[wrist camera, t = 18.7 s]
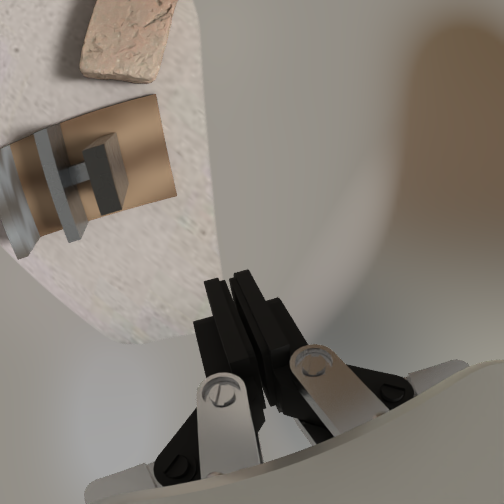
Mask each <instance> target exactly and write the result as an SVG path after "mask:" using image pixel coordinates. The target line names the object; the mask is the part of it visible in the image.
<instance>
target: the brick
mask: <svg viewBox="0 0 504 504" xmlns="http://www.w3.org/2000/svg"><path fill="white" fill-rule="evenodd" d="M177 1H178V0H97V1H96V4H95V6H94V10H93V13H92V16H91V19H90V22H89V25H88V28H87V33H86V36H85V40H84V44H83V47H82V51H81V59H80V63H79V64H80V68H79V69H80V70H81V72H82V74H83V75H84V77H87V78H97V79H115V80H116V79H117V80H123V81H129V82H132V83H144V84H148V83H152V82H153V81H154V80H155V79H156V76H157V75H158V72H159V68H160V64H161V61H162V57H163V53H164V49H165V47H166V43H167V39H168V34H169V29H170V26H171V20H172V16H173V13H174V9H175V6H176V3H177Z"/></svg>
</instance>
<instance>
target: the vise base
mask: <svg viewBox="0 0 504 504" xmlns="http://www.w3.org/2000/svg"><path fill="white" fill-rule="evenodd" d="M60 126H61V130H62V134H63V138H64V142H65V146H66V150H67V154H68V158H69V161H70V165H74V164H77V163H80V162H82V161H84V157H83V153H82V151H83V150H84V149H85V148H86V147H88V146H89V145H90V144H91V143H93V142H94V141H95V140H96V139H98V138H99V137H102V136H106V135H109V134H112V133H115V132H116V133H117V138H118V142H119V146H120V150H121V155H122V159H123V163H124V167H125V170H126V174H127V178H128V182H129V185H128V189H127V193H126V196H125V200H124V204H123V208H122V210H120V211H123V210H127V209H130V208H134V207H138V206H141V205H145V204H148V203H152V202H156V201H160V200H163V199H167V198H171V197H175V196H177V193H176V189H175V184H174V180H173V176H172V171H171V167H170V162H169V157H168V153H167V148H166V143H165V138H164V133H163V128H162V123H161V118H160V113H159V108H158V103H157V97H156V94H153V95H149V96H145V97H141V98H138V99H134V100H130V101H127V102H123V103H120V104H116V105H113V106H109V107H106V108H103V109H100V110H97V111H94V112H91V113H88V114H85V115H82V116H79V117H76V118H73V119H70V120H68V121H65V122H62V123H60ZM76 185H77V189H78V192H79V195H80V198H81V201H82V204H83V207H84V210H85V213H86V216H87V219H88V221H90V220H93V219H96V218H100V217H103V216H106V215H110V214H113V213H117V212H120V211H116V212H113V213H110V214H106V215H103V216H101V214H100V211H99V208H98V205H97V202H96V199H95V195H94V192H93V189H92V186H91V182H90V180H87V181H84V182H81V183H78V184H76ZM0 219H1V221H2V224H3V226H4V229H5V231H6V234H7V236H8V238H9V241H10V243H11V245H12V248H13V250H14V252H15V254H16V256H17V259H18V260H19V259H21V258H24V257H27V256H28V255H29V254H30V252H31V251H32V249H33V247H34V246H35V244H36V243H37V241H38V240H39V238H40V237H41V236H44V235H47V234H50V233H53V232H56V231H59V230H62V229H63V227H62V224H61V222H60V219H59V216H58V213H57V211H56V208H55V205H54V202H53V199H52V196H51V193H50V190H49V187H48V184H47V181H46V177H45V174H44V171H43V167H42V164H41V160H40V157H39V153H38V149H37V146H36V142H35V138H34V134H32V135H30V136H28V137H26V138H23V139H21V140H19V141H17V142H14V143H12V144H10V145H8V146H6V147H4V148H1V149H0Z"/></svg>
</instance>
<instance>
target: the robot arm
mask: <svg viewBox="0 0 504 504" xmlns="http://www.w3.org/2000/svg"><path fill="white" fill-rule="evenodd" d="M229 281H230V286H231V291H232V296H233V299H232V296H231V294H230V292H229V289H228V286H227V284H226V281H225V280H222V281H219V279H218V278H214V279H211V280H207V281H204V285H205V289H206V292H207V296H208V300H209V303H210V307H211V311H212V314H213V316H212V317H208V318H204V319H201V320H197V321H193V324H194V329H195V333H196V337H197V342H198V346H199V350H200V354H201V358H202V363H203V366H204V371H205V375H206V379H205V380H203V381H202V382H201V384H200V385H199V387H198V389H197V395H196V396H197V407H196V409H195V410H194V411H193V413H192V414H191V415H190V416H189V418H188V419H187V420H186V422H185V423H184V424H183V425H182V427H181V428H180V429H179V431H178V432H177V433H176V434H175V436H174V437H173V438H172V439H171V441H170V442H169V443H168V444H167V446H166V447H165V448H164V449H163V451H162V452H161V453H160V454H159V456H158V457H157V459H156V461H155V462H153V463H150V464H148V465H146V464H145V463H143V464H140V465H137V466H135V467H132V468H129V469H126V470H124V471H121V472H118V473H115V474H112V475H109V476H106V477H103V478H100V479H97V480H95V481H93V482H91V483H90V484H89V485H88V486H87V487H86V490H85V493H84V497H85V503H86V504H504V360H491V361H485V362H481V363H478V364H475V365H472V366H469V365H468V363H466V362H464V361H461V360H450V361H448V362H445V363H441V364H438V365H435V366H432V367H429V368H426V369H423V370H419V371H415V372H412V373H409V374H408V376H407V377H404V378H403V377H400V376H397V375H393V374H388V373H383V372H378V371H373V370H369V369H364V368H360V367H356V366H351V365H347V364H345V363H344V362H343V361H342V360H341V359H340V358H339V357H338V356H337V355H336V354H335V352H334V351H332V350H331V349H330V348H328V347H326V346H323V345H317V344H312V345H308V344H307V342H306V340H305V339H304V337H303V336H302V334H301V332H300V331H299V329H298V327H297V326H296V324H295V323H294V321H293V319H292V317H291V316H290V314H289V313H288V311H287V309H286V308H285V306H284V304H283V303H282V301H281V300H280V299H279V298H278V297H277V298H274V299H271V300H267V301H265V299H264V297H263V295H262V293H261V292H260V290H259V288H258V286H257V284H256V283H255V280H254V279H253V277H252V275H251V273H250V271H249V270H244V271H240V272H237V273H234V277H233V278H230V279H229ZM233 300H234V301H233ZM262 388H263V390H264V393H265V395H266V398H267V400H268V402H269V404H270V406H274V405H276V407H277V409H278V411H279V413H280V412H283V414H284V415H287V416H291V417H293V418H294V420H295V422H296V424H297V425H298V426H299V428H300V429H301V431H302V432H303V434H304V435H305V436H306V438H307V439H308V440H309V442H310V443H311V445H312V447H309V448H307V449H304V450H301V451H298V452H295V453H293V454H290V455H287V456H284V457H281V458H278V459H275V460H272V461H269V462H266V463H264V460H263V455H262V449H261V444H260V438H259V434H258V432H259V430H260V428H261V427H262V425H263V423H264V422H265V416H264V412H263V409H265V408H266V405H265V400H264V396H263V390H262Z"/></svg>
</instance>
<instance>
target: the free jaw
mask: <svg viewBox="0 0 504 504" xmlns="http://www.w3.org/2000/svg"><path fill="white" fill-rule="evenodd" d="M33 134H34V138H35V142H36V146H37V149H38V153H39V157H40V160H41V164H42V167H43V171H44V174H45V177H46V181H47V184H48V187H49V190H50V193H51V196H52V199H53V202H54V205H55V208H56V211H57V213H58V216H59V219H60V222H61V224H62V227H63V230H64V232H65V235H66V237H67V240H68V242H69V243H70V242H73V241H77V240H80V239H81V238H82V235H83V233H84V231H85V229H86V226H87V224H88V219H87V216H86V213H85V210H84V207H83V204H82V201H81V198H80V195H79V192H78V189H77V185H76V184H78V183H81V182H84V181H87V180H90V182H91V186H92V189H93V192H94V195H95V199H96V202H97V205H98V208H99V211H100V214H101V216H103V215H106V214H110V213H113V212H116V211H120V210H122V208H123V204H124V200H125V196H126V193H127V189H128V185H129V182H128V178H127V174H126V170H125V167H124V163H123V159H122V155H121V150H120V146H119V142H118V138H117V133H116V132H115V133H112V134H109V135H106V136H102V137H99V138H98V139H96V140H95V141H94V142H93V143H91V144H90V145H89V146H88V147H86V148H85V149H84V150H83V151H82V153H83V157H84V161H82V162H80V163H77V164H74V165H70V161H69V158H68V154H67V150H66V146H65V142H64V138H63V134H62V130H61V126H60V124H57V125H54V126H51V127H48V128H45V129H43V130H41V131H38V132H36V133H33Z"/></svg>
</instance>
